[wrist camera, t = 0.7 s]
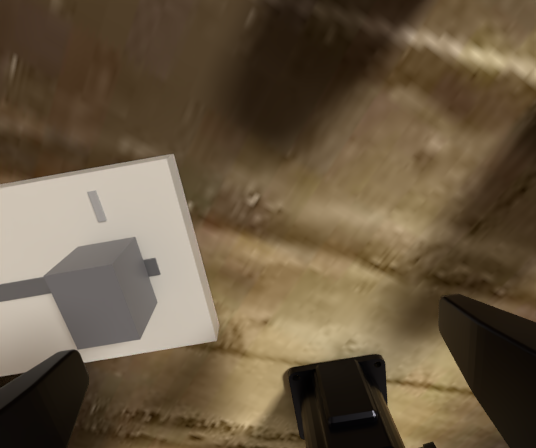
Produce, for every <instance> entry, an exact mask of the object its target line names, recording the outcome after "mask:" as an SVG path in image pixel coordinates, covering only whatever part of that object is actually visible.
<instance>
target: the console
mask: <svg viewBox="0 0 536 448" xmlns="http://www.w3.org/2000/svg"><path fill="white" fill-rule="evenodd" d="M131 237H136V240H137V243H138V246H139V249H140V252H141V255H142V258H143V261H144V264H145V267H146V270H147V273H148V276H149V279H150V282H151V284H152V287H153V290H154V293H155V296H156V299H157V302H158V303H157V305H156V307H155V309H154V311H153V313H152V316H151V318H150V320H149V322H148V324H147V326H146V328H145V331H144V333H143V335H142V337H141V339H140V340H134V341H128V342H122V343H116V344H110V345H104V346H98V347H92V348H86V349H79V350H78V349H77V347H76V345H75V343H74V341H73V338H72V336H71V334H70V332H69V330H68V328H67V326H66V323H65V321H64V319H63V317H62V315H61V313H60V311H59V308H58V306H57V304H56V302H55V300H54V298H53V296H52V294H51V291H50V289H49V287H48V285H47V283H46V281H45V279H44V275H45V274H46V273H47V272H49V271H50V270H51V269H52V268H53V267H54V266H56V265H57V264H58V263H59V262H60V261H62V260H63V259H64V258H65V257H66V256H67V255H69V254H70V253H71V252H72V251H73V250H74V249H76V248H77V247H79V246H84V245H90V244H96V243H102V242H108V241H113V240H119V239H125V238H131ZM218 331H219V322H218V318H217V314H216V310H215V307H214V303H213V299H212V295H211V292H210V288H209V284H208V281H207V277H206V273H205V269H204V266H203V262H202V258H201V254H200V251H199V247H198V243H197V240H196V236H195V232H194V228H193V225H192V221H191V217H190V213H189V210H188V206H187V202H186V199H185V195H184V191H183V187H182V184H181V180H180V176H179V172H178V169H177V165H176V161H175V157H174V154H169V155H164V156H158V157H152V158H147V159H141V160H135V161H130V162H124V163H119V164H113V165H107V166H102V167H96V168H90V169H85V170H79V171H74V172H68V173H62V174H57V175H51V176H45V177H40V178H34V179H29V180H23V181H17V182H12V183H6V184H0V377H1V376H7V375H13V374H19V373H25V372H27V371H28V370H30V369H32V368H33V367H35V366H36V365H38V364H39V363H41V362H43V361H44V360H46V359H47V358H49V357H51V356H52V355H54V354H55V353H57V352H59V351H64V350H72V349H75V350H77V351H78V352H79V353H80V355H81V357H82V360H83V362H84V363H86V362H92V361H98V360H104V359H110V358H116V357H122V356H128V355H134V354H140V353H146V352H152V351H158V350H164V349H171V348H177V347H183V346H189V345H195V344H201V343H207V342H213V341H217V337H218Z"/></svg>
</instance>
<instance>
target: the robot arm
mask: <svg viewBox="0 0 536 448" xmlns="http://www.w3.org/2000/svg"><path fill="white" fill-rule="evenodd" d="M438 326H439V331H440V333H441V336H442V337H443V339H444V341H445V343H446V345H447V347H448V348H449V350H450V352H451V354H452V356H453V358H454V360H455V361H456V363H457V365H458V367H459V369H460V371H461V372H462V374H463V376H464V378H465V380H466V382H467V383H468V385H469V387H470V389H471V390H472V392H473V394H474V395H475V397H476V398H477V400H478V401H479V403H480V404H481V406H482V407H483V409H484V410H485V412H486V413H487V415H488V416H489V418H490V419H491V421H492V422H493V424H494V425H495V426H496V428H497V429H498V431H499V432H500V434H501V435H502V437H503V438H504V440H505V441H506V443H507V444H508V446H509V447H510V448H536V322H533V321H530V320H528V319H525V318H522V317H520V316H517V315H514V314H512V313H509V312H506V311H503V310H501V309H498V308H495V307H493V306H490V305H487V304H485V303H482V302H479V301H476V300H474V299H471V298H468V297H466V296H463V295H460V294H452V295H445V296H442V297H441V298H440V300H439V318H438ZM376 362H378V363H376ZM294 375H298V376H294ZM288 376H289V382H290V387H291V393H292V398H293V403H294V408H295V414H296V419H297V424H298V429H299V435H300V438H302V439H304V440H305V443H306V448H405V446H404V444H403V441H402V439H401V437H400V434H399V432H398V430H397V428H396V425H395V423H394V421H393V418H392V416H391V414H390V411H389V409H388V407H387V388H386V370H385V361H384V359H383V357H382V356H381V355H369V356H363V357H357V358H351V359H345V360H339V361H332V362H326V363H320V364H314V365H308V366H302V367H295V368H292V369H291V370H289V372H288ZM88 385H89V374H88V372H87V369H86V367H85V364H84V362H83V360H82V357H81V355H80V353H79V352H78V351H77V350H75V349H72V350H64V351H59V352H57V353H55V354H54V355H52V356H51V357H49V358H47V359H46V360H44V361H43V362H41V363H39V364H38V365H36V366H35V367H33V368H32V369H30V370H28V371H27V372H25V373H24V374H22V375H20V376H19V377H17V378H16V379H14V380H13V381H11V382H9V383H8V384H6V385H5V386H3V387H2V388H0V448H67V446H68V444H69V441H70V438H71V435H72V432H73V429H74V426H75V423H76V421H77V418H78V415H79V412H80V409H81V406H82V403H83V400H84V397H85V394H86V391H87V388H88ZM420 448H436V446H435V445H434V443H433V442H430V443H426V444H423V447H420Z"/></svg>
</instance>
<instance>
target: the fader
mask: <svg viewBox="0 0 536 448" xmlns="http://www.w3.org/2000/svg"><path fill="white" fill-rule="evenodd" d="M44 279H45V281H46V283H47V285H48V287H49V289H50V291H51V294H52V296H53V298H54V300H55V302H56V304H57V306H58V308H59V311H60V313H61V315H62V317H63V319H64V321H65V323H66V326H67V328H68V330H69V332H70V334H71V336H72V338H73V341H74V343H75V345H76V347H77V349H78V350H79V349H86V348H92V347H98V346H104V345H110V344H116V343H122V342H128V341H134V340H140V339H141V337H142V335H143V333H144V331H145V328H146V326H147V324H148V322H149V320H150V318H151V316H152V313H153V311H154V309H155V307H156V305H157V303H158V302H157V299H156V296H155V293H154V290H153V287H152V284H151V282H150V279H149V276H148V273H147V270H146V267H145V264H144V261H143V258H142V255H141V252H140V249H139V246H138V243H137V240H136V237H131V238H125V239H119V240H113V241H108V242H102V243H96V244H90V245H84V246H79V247H77V248H76V249H74V250H73V251H72V252H71V253H70V254H69V255H67V256H66V257H65V258H64V259H63V260H62V261H60V262H59V263H58V264H57V265H56V266H54V267H53V268H52V269H51V270H50V271H49V272H47V273H46V274H45V275H44Z"/></svg>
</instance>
